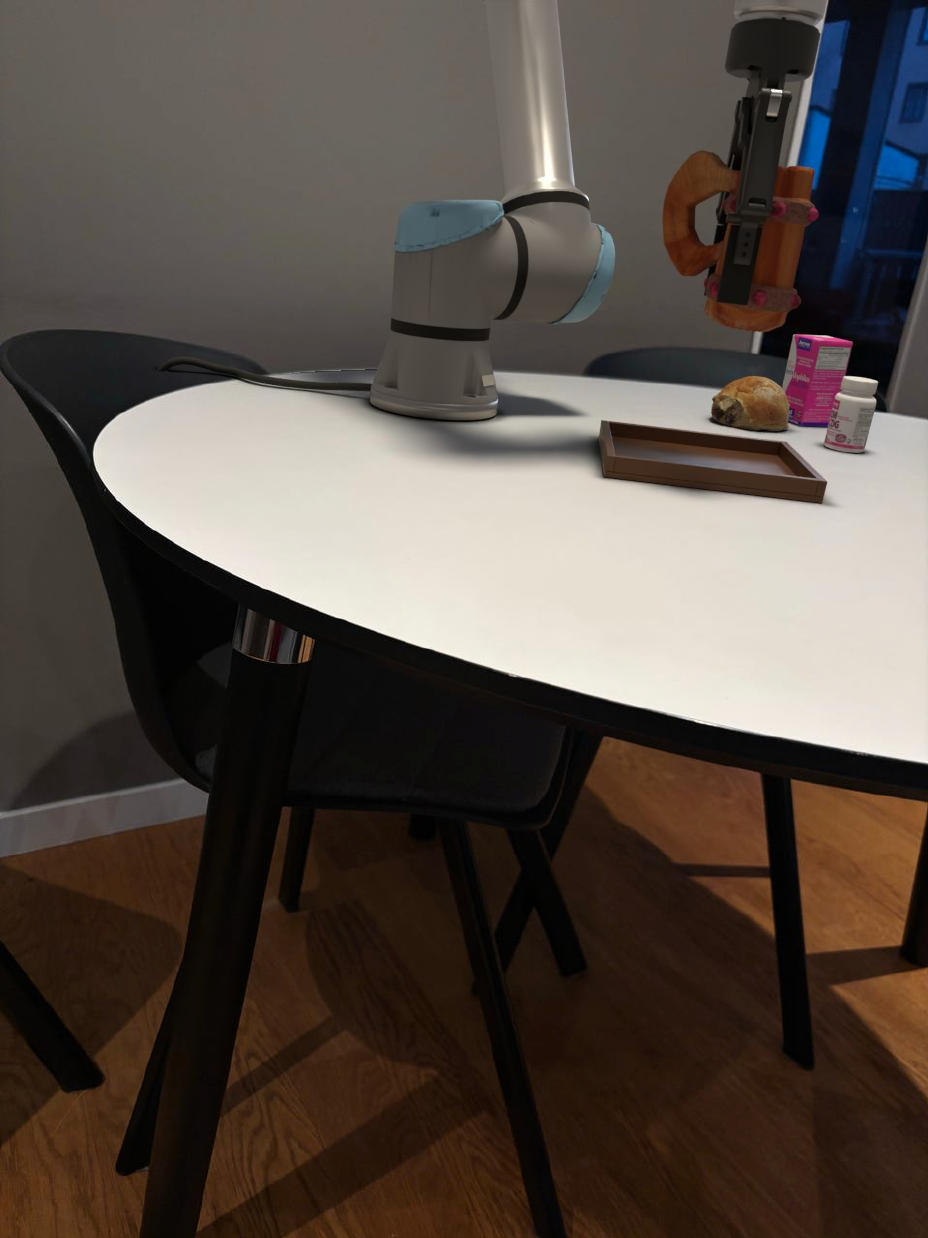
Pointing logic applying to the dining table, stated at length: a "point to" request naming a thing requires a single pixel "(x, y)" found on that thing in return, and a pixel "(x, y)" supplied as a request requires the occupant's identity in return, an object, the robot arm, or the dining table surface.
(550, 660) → the dining table surface
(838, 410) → the pill bottle
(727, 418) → the bread roll
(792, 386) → the supplement box
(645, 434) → the tray
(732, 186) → the mug
